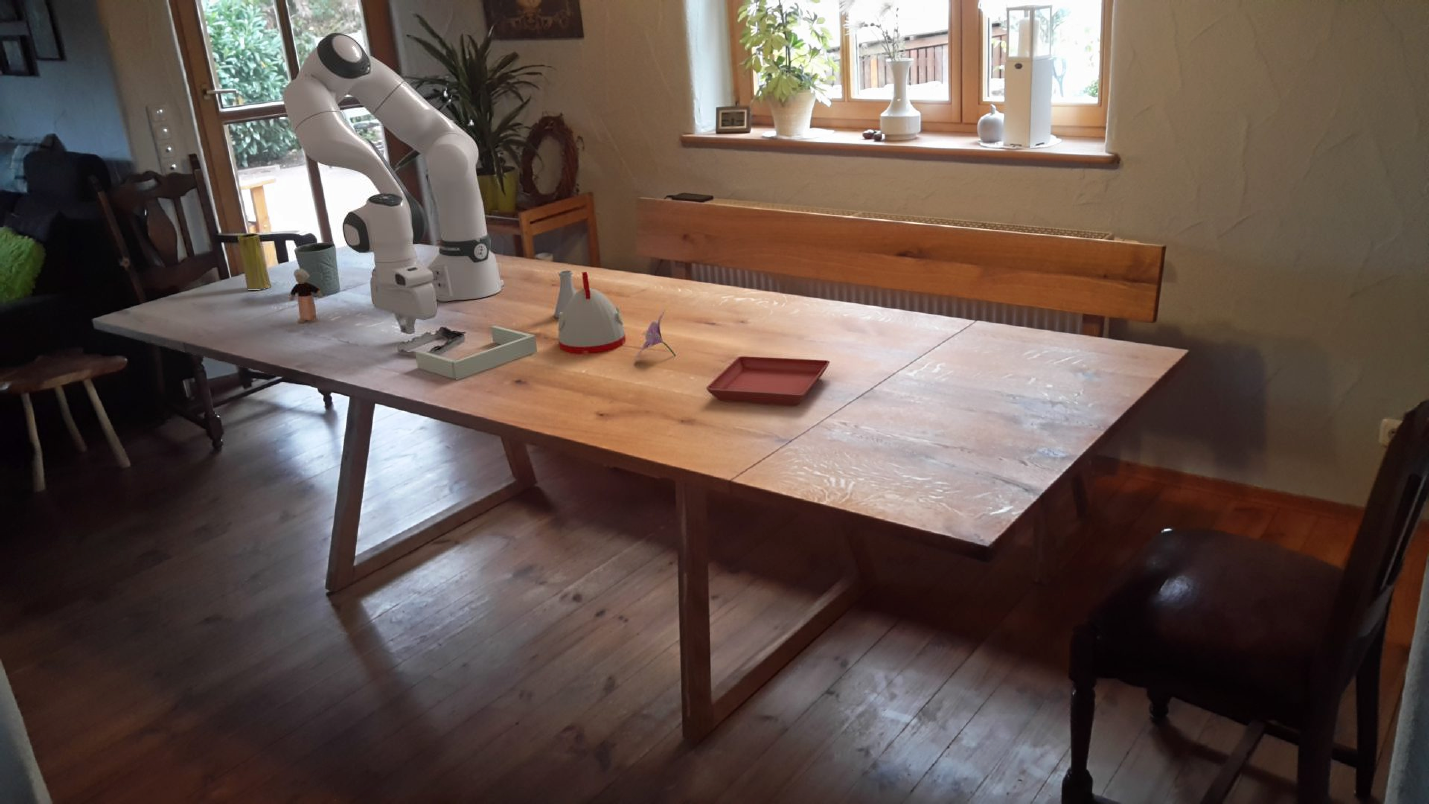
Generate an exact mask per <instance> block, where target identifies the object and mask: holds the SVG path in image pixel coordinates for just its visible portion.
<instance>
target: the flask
mask: <svg viewBox="0 0 1429 804" xmlns="http://www.w3.org/2000/svg"><path fill="white" fill-rule="evenodd" d="M557 273H558V276H559V279H560V285H559V293H558V297H557V302H556V306H555V311H554V316H555V318H559V313H560V312H564V309H565V307H566V305H567V303H568V302H569V300H570V299H571V298H572V296H573V295H575V294H576V293H577V291H576V289H575V286H574V283H573V279H572V275H573V271H572V270H568V269H567V270H560V271H558V272H557Z"/></svg>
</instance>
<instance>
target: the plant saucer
mask: <svg viewBox="0 0 1429 804" xmlns="http://www.w3.org/2000/svg"><path fill="white" fill-rule="evenodd" d="M829 365H830V360H828V359H825V360H824V359H809V358H808V359H807V358H806V359H805V358H804V359H803V358H790V357H787V358H786V357H785V358H783V357H770V356H769V357H768V356H767V357H765V356H748V355H747V356H746V355H744V356H743V355H742V356H738V357H737V358H735V360H733V361H732V362H731V363H730V364H729V365H728V366H727V367H726V368H725V369H724V370H722V372H721V373H720V374H719V375H717V376H716V378H715V379H713V380H712V381H711V382H710V383H709V384H708V385H707V386H706V388H705V389H706V390H707V392H709V394H711V395H712V396H713V397H714V398H716V399H717V400H719V401H723V402H734V403H751V404H762V405H776V406H791V407H795V406H796V407H797V406H798V405H799V404H800V403H801V401H802V400H803V399H804V398H805V396H807V394H808V393H809V391H810V390H812V388H813V387H814V386H815V384H816V383H817V382H818V381H819V379H821V377H822V376H823V374H824V373H825V371H826V370H827V368H828V367H829Z"/></svg>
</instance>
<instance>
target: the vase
mask: <svg viewBox="0 0 1429 804" xmlns="http://www.w3.org/2000/svg"><path fill="white" fill-rule="evenodd" d="M260 239H261V238H260V235H259V234H258V233H254V232H252V233H251V232H250V233H244V234H240V235H237V240H238V244H239V250H240V255H241V256H240V257H241V260H242V265H243V271H244V277H245V283H246V290H247V289H264V288H268V287H269V286H271V287H272V284H271V280H270V277H269V273H268V269H267V266H266V265H267V264H266V262H265V258H264V254H263V248H262V245H261V244H262V243H261V240H260ZM268 289H269V288H268Z"/></svg>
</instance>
